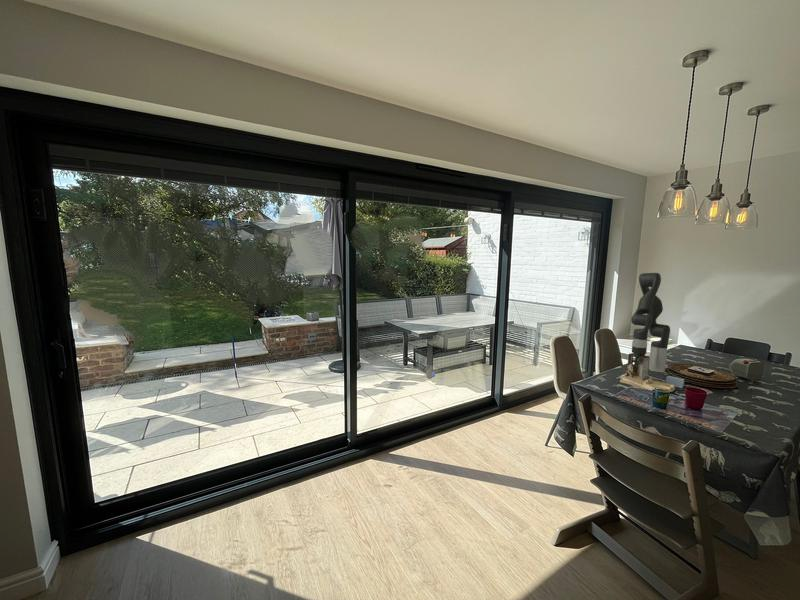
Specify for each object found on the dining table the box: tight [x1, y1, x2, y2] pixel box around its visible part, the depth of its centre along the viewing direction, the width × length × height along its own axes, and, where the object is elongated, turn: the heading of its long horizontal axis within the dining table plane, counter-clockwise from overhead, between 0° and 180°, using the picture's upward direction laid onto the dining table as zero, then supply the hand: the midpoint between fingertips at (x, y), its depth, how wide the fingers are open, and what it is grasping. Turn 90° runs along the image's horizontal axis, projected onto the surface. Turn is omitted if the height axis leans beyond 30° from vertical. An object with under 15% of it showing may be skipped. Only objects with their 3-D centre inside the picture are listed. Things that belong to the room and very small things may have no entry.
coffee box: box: [626, 352, 650, 381], centre depth 209 cm, size 9×6×16 cm
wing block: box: [665, 375, 685, 389], centre depth 205 cm, size 4×8×5 cm, turn 39°
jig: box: [619, 372, 676, 393], centre depth 205 cm, size 13×25×4 cm, turn 36°
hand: (637, 371), depth 209 cm, fingers closed on coffee box, 7 cm apart
